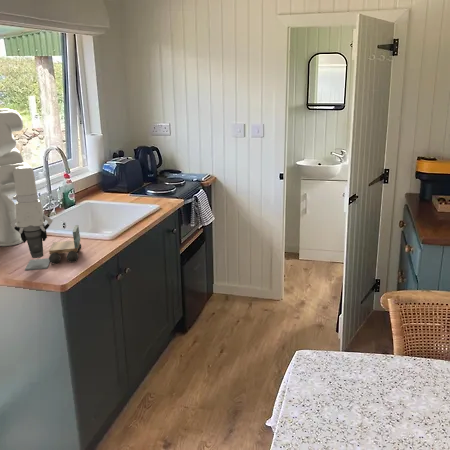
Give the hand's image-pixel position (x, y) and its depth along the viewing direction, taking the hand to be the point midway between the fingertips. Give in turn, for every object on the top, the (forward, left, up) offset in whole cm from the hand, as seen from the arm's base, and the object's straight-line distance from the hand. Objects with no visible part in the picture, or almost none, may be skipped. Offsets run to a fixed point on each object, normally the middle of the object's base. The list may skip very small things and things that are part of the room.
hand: (34, 240), depth 200 cm
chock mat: (0, 0, -11) cm, 11 cm away
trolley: (+10, +6, -11) cm, 16 cm away
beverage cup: (0, 0, -7) cm, 7 cm away
